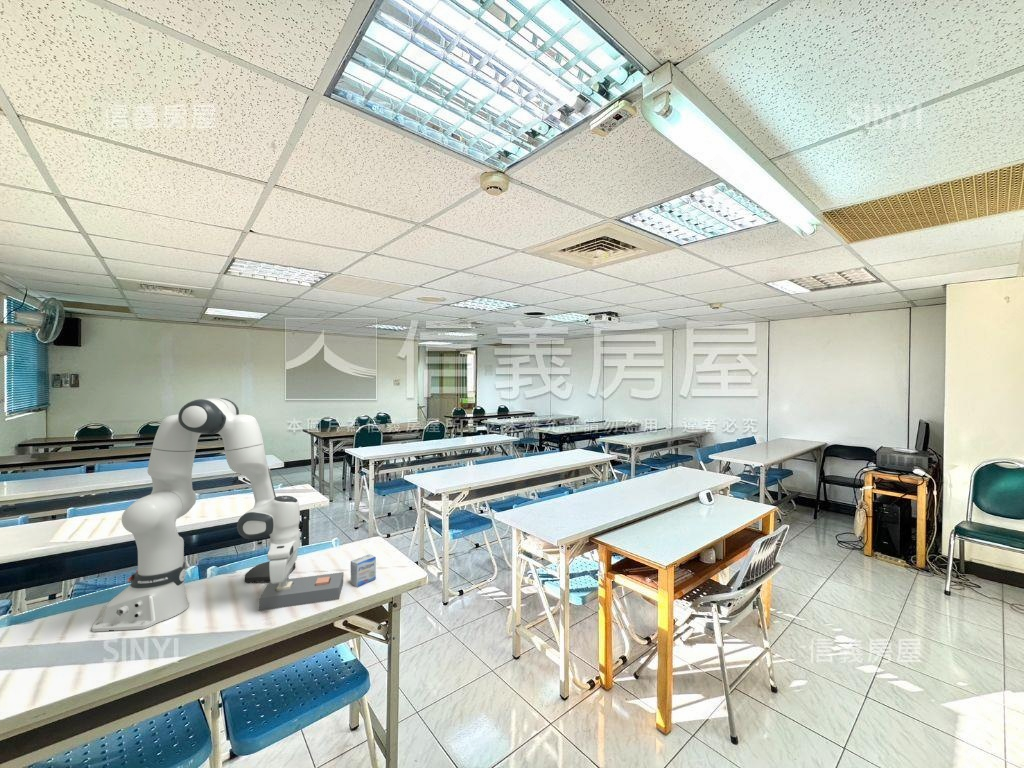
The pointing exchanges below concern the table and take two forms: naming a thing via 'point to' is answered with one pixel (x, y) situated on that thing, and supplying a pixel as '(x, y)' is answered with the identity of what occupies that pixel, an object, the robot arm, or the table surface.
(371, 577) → the medicine box
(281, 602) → the key panel
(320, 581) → the terracotta key
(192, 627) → the table surface
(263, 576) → the media streaming box
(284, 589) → the sand key
